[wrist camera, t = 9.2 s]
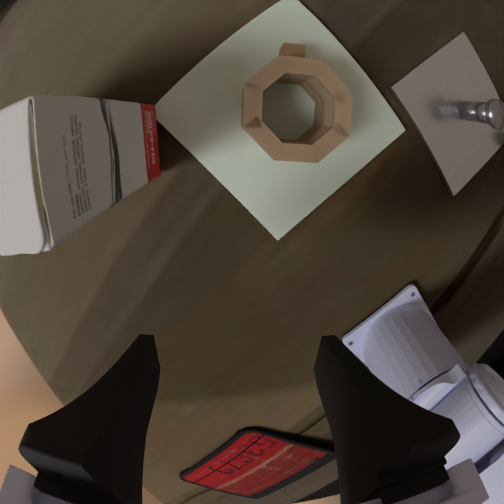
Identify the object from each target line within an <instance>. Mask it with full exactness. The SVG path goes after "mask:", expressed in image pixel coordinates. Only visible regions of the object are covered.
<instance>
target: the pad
mask: <svg viewBox="0 0 504 504" xmlns="http://www.w3.org/2000/svg"><path fill="white" fill-rule="evenodd" d="M283 43H293V44H301V45H305V58H309V59H316V60H323V61H325V62H326V64H327V65H328V66H329V67H330V68H331V69H332V70H333V72H334V73H335V74H336V75H337V76H338V77H339V79H340V80H341V81H342V82H343V83H344V85H345V86H346V87H347V88H348V89H349V91H350V92H351V93H352V111H351V125H350V136H349V137H348V138H347V139H346V140H345V141H343V142H342V143H341V144H340V145H339V146H337V147H336V148H335V149H334V150H333V151H332V152H330V153H329V154H328V155H327V156H326V157H325V158H323V159H322V160H321V161H320V162H319V163H308V162H293V161H275V160H273V159H272V158H271V157H270V156H269V155H268V154H267V153H266V152H265V151H264V150H263V149H262V148H261V147H260V146H259V145H258V144H257V143H256V142H255V140H254V139H253V138H252V137H251V136H250V135H249V134H248V133H247V132H246V131H245V130H244V129H243V128H242V127H241V108H242V90H243V87H244V83H245V82H246V81H247V80H249V79H250V78H251V77H252V76H253V75H255V74H256V73H257V72H258V71H260V70H261V69H262V68H263V67H265V66H266V65H267V64H268V63H270V62H271V61H272V60H273V59H275V58H276V57H277V56H279V49H280V48H281V46H282V45H283ZM155 111H156V120H157V121H158V122H159V123H161V124H162V125H163V126H164V127H165V128H166V129H167V130H168V131H169V132H170V133H171V134H172V135H173V136H174V137H175V138H176V139H177V140H178V141H179V142H180V143H181V144H182V145H183V146H184V147H185V148H186V149H187V150H188V151H189V152H190V153H191V154H192V155H193V156H194V157H195V158H197V159H198V160H199V161H200V162H201V163H202V164H203V165H204V166H205V167H206V168H207V169H208V170H209V171H210V172H211V173H212V174H213V175H214V176H215V177H216V178H217V179H218V180H219V181H220V182H221V183H222V184H223V185H224V186H225V187H226V188H227V189H228V190H229V191H230V192H231V193H232V194H233V195H234V196H235V197H236V198H237V199H238V200H239V201H240V202H241V203H242V204H243V205H244V206H245V207H246V208H247V209H248V210H249V212H250V213H251V214H252V215H253V216H254V217H255V218H256V219H257V220H258V221H259V222H260V223H261V224H262V225H263V226H264V227H265V228H266V229H267V230H268V231H269V232H270V233H271V234H272V235H273V236H274V237H275V238H276V239H277V240H279V239H280V238H281V237H282V236H284V235H285V234H286V233H287V232H288V231H290V230H291V229H292V228H293V227H294V226H295V225H297V224H298V223H299V222H300V221H301V220H302V219H304V218H305V217H306V216H307V215H308V214H309V213H311V212H312V211H313V210H314V209H315V208H316V207H318V206H319V205H320V204H321V203H322V202H323V201H325V200H326V199H327V198H328V197H329V196H330V195H332V194H333V193H334V192H335V191H336V190H337V189H338V188H340V187H341V186H342V185H343V184H344V183H345V182H347V181H348V180H349V179H350V178H351V177H352V176H354V175H355V174H356V173H357V172H358V171H359V170H360V169H362V168H363V167H364V166H365V165H366V164H367V163H369V162H370V161H371V160H372V159H373V158H374V157H375V156H377V155H378V154H379V153H380V152H381V151H382V150H384V149H385V148H386V147H387V146H388V145H389V144H390V143H392V142H393V141H394V140H395V139H396V138H397V137H398V136H400V135H401V134H402V133H403V132H404V131H405V128H404V127H403V125H402V124H401V122H400V121H399V119H398V118H397V116H396V115H395V113H394V112H393V110H392V109H391V107H390V106H389V104H388V103H387V102H386V100H385V99H384V97H383V96H382V95H381V93H380V92H379V90H378V89H377V88H376V86H375V85H374V84H373V82H372V81H371V80H370V79H369V77H368V76H367V75H366V73H365V72H364V71H363V70H362V68H361V67H360V66H359V65H358V64H357V62H356V61H355V60H354V59H353V57H352V56H351V55H350V54H349V53H348V52H347V50H346V49H345V48H344V47H343V46H342V45H341V44H340V43H339V41H338V40H337V39H336V38H335V37H334V36H333V35H332V34H331V33H330V32H329V31H328V29H327V28H326V27H325V26H324V25H323V24H322V23H321V22H320V21H319V20H318V19H317V18H316V17H315V16H314V15H313V14H312V13H311V12H310V11H309V10H308V9H307V8H306V7H305V6H303V5H302V4H301V3H300V2H299V1H298V0H281V1H279V2H278V3H276V4H275V5H273V6H272V7H270V8H269V9H267V10H266V11H264V12H263V13H261V14H260V15H259V16H257V17H256V18H254V19H253V20H252V21H250V22H249V23H248V24H246V25H245V26H244V27H242V28H241V29H240V30H238V31H237V32H236V33H234V34H233V35H232V36H230V37H229V38H228V39H227V40H225V41H224V42H223V43H222V44H221V45H219V46H218V47H217V48H216V49H214V50H213V51H212V52H211V53H210V54H209V55H207V56H206V57H205V58H204V59H203V60H202V61H200V62H199V63H198V64H197V65H196V66H195V67H194V68H193V69H192V70H190V71H189V72H188V73H187V74H186V75H185V76H184V77H183V78H182V79H181V80H180V81H179V82H178V83H177V84H175V85H174V86H173V87H172V88H171V89H170V90H169V91H168V92H167V93H166V94H165V95H164V96H163V97H162V98H161V99H160V100H159V101H158V102H157V103H156V105H155ZM314 112H315V102H314V101H313V99H312V98H311V97H310V96H309V95H308V94H307V93H306V92H305V90H304V89H303V88H302V87H301V86H300V85H299V84H288V83H277V82H275V83H274V84H272V85H271V86H270V87H269V88H268V89H266V90H265V91H264V92H263V104H262V122H263V123H264V124H265V125H266V126H267V127H268V128H269V129H270V130H271V131H272V132H273V133H274V134H275V135H276V137H277V138H278V139H291V140H297V139H298V138H299V137H300V136H301V135H303V134H304V133H305V132H306V131H307V130H308V129H310V128H311V127H312V126H313V125H314Z"/></svg>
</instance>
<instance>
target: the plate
mask: <svg viewBox="0 0 504 504" xmlns="http://www.w3.org/2000/svg"><path fill="white" fill-rule="evenodd" d="M388 89H389V90H390V92H391V93H392V94H393V96H394V97H395V99H396V100H397V102H398V103H399V105H400V106H401V108H402V109H403V111H404V112H405V114H406V115H407V117H408V118H409V120H410V121H411V123H412V125H413V126H414V128H415V129H416V131H417V133H418V134H419V136H420V138H421V140H422V141H423V143H424V145H425V146H426V148H427V150H428V152H429V154H430V155H431V157H432V159H433V161H434V163H435V165H436V167H437V168H438V170H439V172H440V174H441V176H442V178H443V180H444V182H445V184H446V186H447V188H448V191H449V193H450V195H452V196H455V195H456V194H457V193H458V192H459V191H460V190H461V189H462V188H463V187H464V185H465V184H466V183H467V182H468V181H469V180H470V179H471V178H472V177H473V176H474V175H475V174H476V173H477V172H478V171H479V170H480V169H481V168H482V167H483V165H484V164H485V163H486V162H487V161H488V160H489V159H490V158H491V157H492V156H493V154H494V153H495V152H496V151H497V150H498V149H499V148H500V147H501V145H502V144H503V143H504V103H503V102H502V101H501V100H500V98H499V96H498V94H497V92H496V90H495V88H494V86H493V83H492V81H491V79H490V77H489V75H488V73H487V72H486V70H485V68H484V66H483V64H482V62H481V60H480V59H479V57H478V55H477V53H476V51H475V50H474V48H473V46H472V45H471V43H470V41H469V40H468V38H467V37H466V35H465V33H464V32H461V33H459V34H458V35H456V36H455V37H453V38H452V39H451V40H449V41H448V42H447V43H445V44H444V45H443V46H441V47H440V48H439V49H437V50H436V51H435V52H433V53H432V54H431V55H429V56H428V57H427V58H425V59H424V60H423V61H421V62H420V63H419V64H418V65H416V66H415V67H414V68H412V69H411V70H410V71H409V72H407V73H406V74H405V75H403V76H402V77H401V78H400V79H398V80H397V81H396V82H395V83H393V84H392V85H391V86H389V87H388Z"/></svg>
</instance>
